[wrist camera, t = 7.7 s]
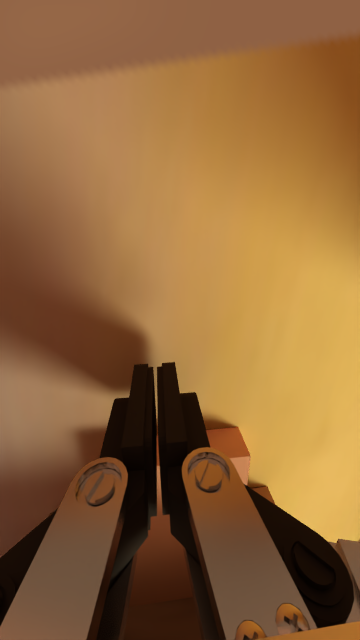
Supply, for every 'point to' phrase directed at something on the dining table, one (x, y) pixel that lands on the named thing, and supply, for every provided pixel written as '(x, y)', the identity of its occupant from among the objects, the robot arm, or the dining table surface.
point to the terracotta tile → (163, 548)
